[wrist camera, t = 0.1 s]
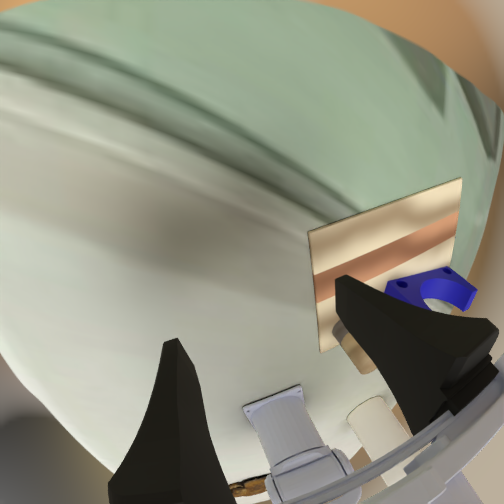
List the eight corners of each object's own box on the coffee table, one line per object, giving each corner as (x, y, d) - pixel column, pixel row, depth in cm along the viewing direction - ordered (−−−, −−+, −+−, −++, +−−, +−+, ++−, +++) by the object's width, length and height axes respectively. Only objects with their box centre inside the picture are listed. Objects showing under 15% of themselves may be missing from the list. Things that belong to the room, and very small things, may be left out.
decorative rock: (223, 490, 56) (276, 476, 60) (227, 503, 52) (281, 488, 57) (222, 482, 50) (283, 466, 54) (228, 497, 46) (289, 479, 51)
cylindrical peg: (354, 329, 31) (382, 365, 26) (332, 340, 31) (359, 378, 26) (355, 311, 30) (386, 348, 25) (331, 323, 29) (361, 362, 24)
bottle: (343, 414, 45) (418, 535, 20) (380, 390, 45) (461, 506, 20) (349, 424, 49) (414, 530, 24) (382, 403, 50) (452, 505, 25)
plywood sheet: (443, 283, 35) (445, 284, 34) (319, 351, 32) (321, 353, 31) (460, 177, 26) (462, 178, 26) (307, 231, 23) (309, 233, 23)
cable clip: (376, 312, 31) (406, 346, 26) (387, 281, 29) (422, 313, 24) (436, 293, 34) (464, 317, 29) (447, 265, 32) (477, 289, 27)
